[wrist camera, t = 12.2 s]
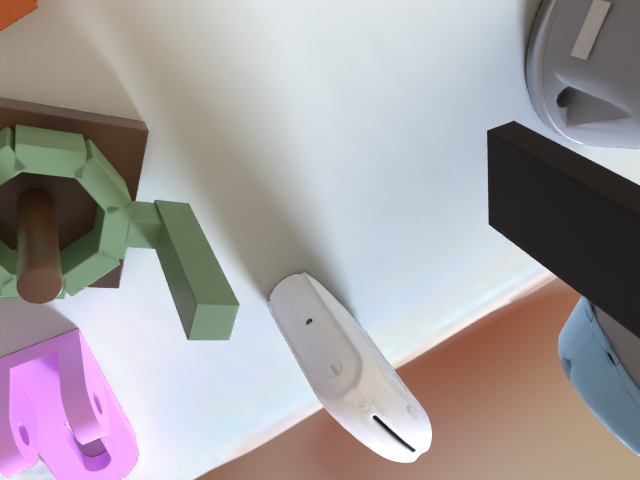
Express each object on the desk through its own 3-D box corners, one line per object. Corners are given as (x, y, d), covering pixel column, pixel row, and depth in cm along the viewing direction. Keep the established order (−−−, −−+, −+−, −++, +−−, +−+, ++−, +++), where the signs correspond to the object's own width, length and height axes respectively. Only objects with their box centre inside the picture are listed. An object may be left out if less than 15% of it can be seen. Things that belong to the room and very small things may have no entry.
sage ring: (-57, 268, 32) (-83, 407, 24) (-48, 114, 29) (-75, 214, 20) (171, 279, 38) (214, 394, 29) (200, 152, 34) (257, 242, 26)
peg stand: (144, 121, 34) (179, 193, 26) (115, 275, 38) (139, 376, 30) (-69, 85, 29) (-99, 161, 22) (-77, 266, 33) (-105, 383, 26)
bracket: (-13, 363, 37) (-19, 448, 32) (78, 328, 39) (88, 404, 33) (71, 486, 45) (78, 573, 39) (146, 453, 46) (163, 533, 40)
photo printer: (254, 299, 43) (323, 426, 33) (301, 259, 43) (383, 375, 33) (330, 367, 49) (406, 491, 39) (371, 333, 49) (458, 448, 39)
